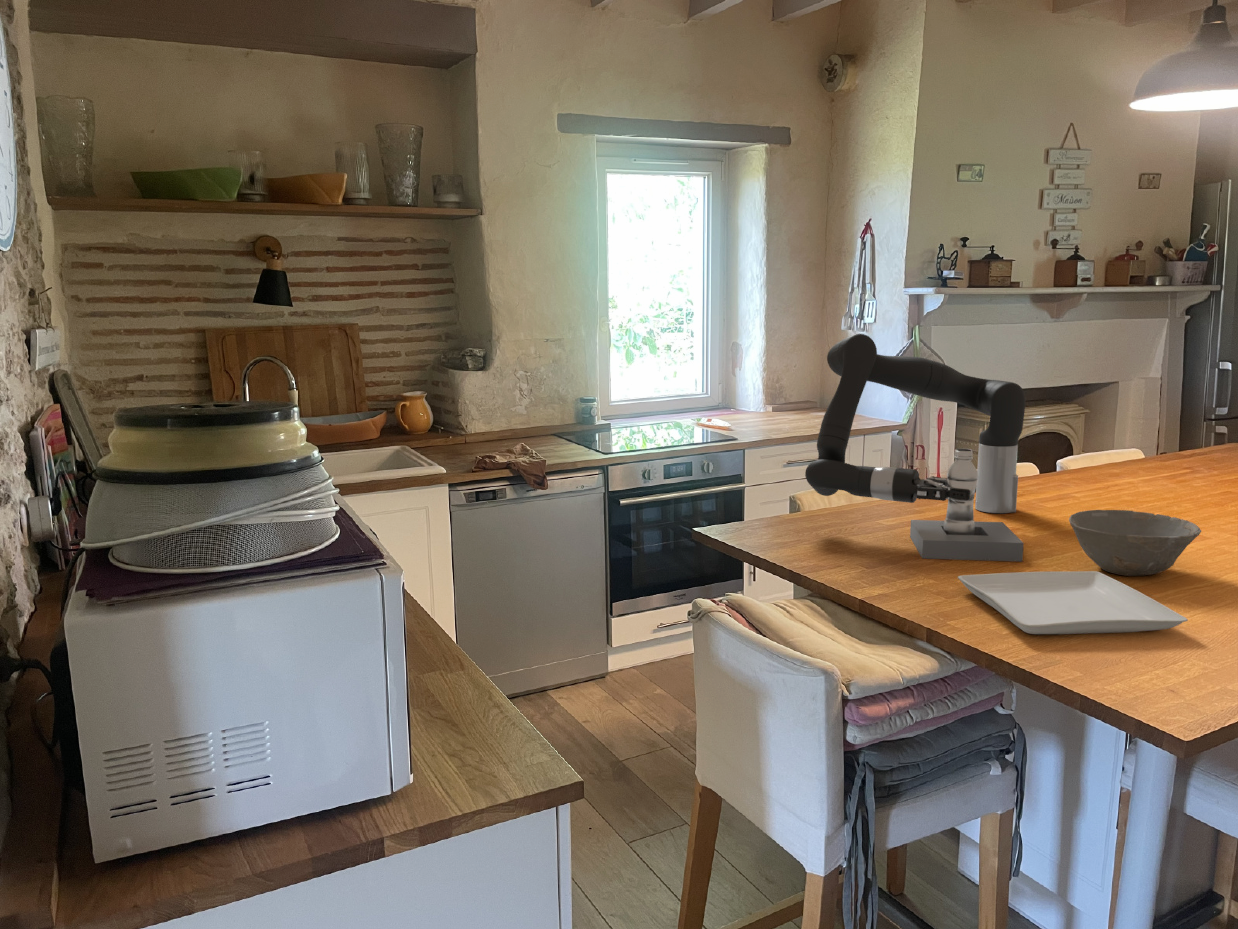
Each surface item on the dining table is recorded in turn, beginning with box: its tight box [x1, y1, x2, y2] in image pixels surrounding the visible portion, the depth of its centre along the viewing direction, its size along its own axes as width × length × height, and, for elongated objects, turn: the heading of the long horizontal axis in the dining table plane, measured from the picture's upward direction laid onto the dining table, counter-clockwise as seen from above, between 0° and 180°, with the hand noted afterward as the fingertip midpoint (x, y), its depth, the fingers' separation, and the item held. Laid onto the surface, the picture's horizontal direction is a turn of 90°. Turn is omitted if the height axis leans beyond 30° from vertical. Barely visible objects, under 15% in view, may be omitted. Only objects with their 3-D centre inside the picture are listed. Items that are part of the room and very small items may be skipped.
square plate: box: [957, 570, 1188, 635], centre depth 158 cm, size 27×27×4 cm
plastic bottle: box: [944, 448, 978, 535], centre depth 197 cm, size 6×7×20 cm
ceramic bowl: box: [1068, 509, 1202, 577], centre depth 180 cm, size 22×23×10 cm
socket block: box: [909, 519, 1025, 562], centre depth 198 cm, size 20×18×4 cm
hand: (972, 491), depth 196 cm, fingers closed on plastic bottle, 6 cm apart
